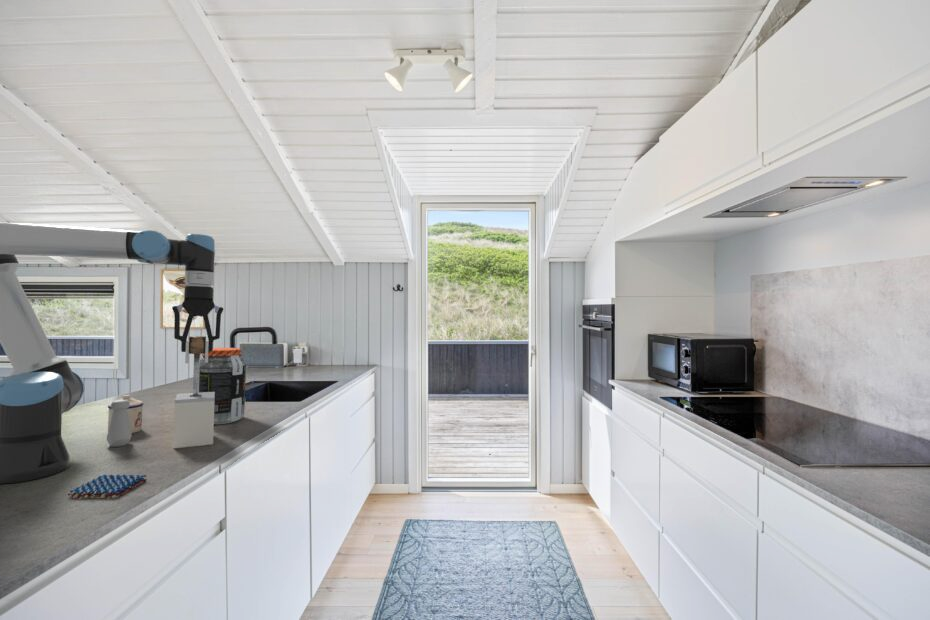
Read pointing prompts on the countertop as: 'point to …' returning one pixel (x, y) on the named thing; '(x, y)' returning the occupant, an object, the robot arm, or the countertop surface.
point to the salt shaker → (119, 424)
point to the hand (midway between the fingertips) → (196, 362)
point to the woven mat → (107, 486)
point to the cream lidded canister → (131, 413)
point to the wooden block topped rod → (196, 359)
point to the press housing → (193, 419)
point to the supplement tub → (224, 383)
